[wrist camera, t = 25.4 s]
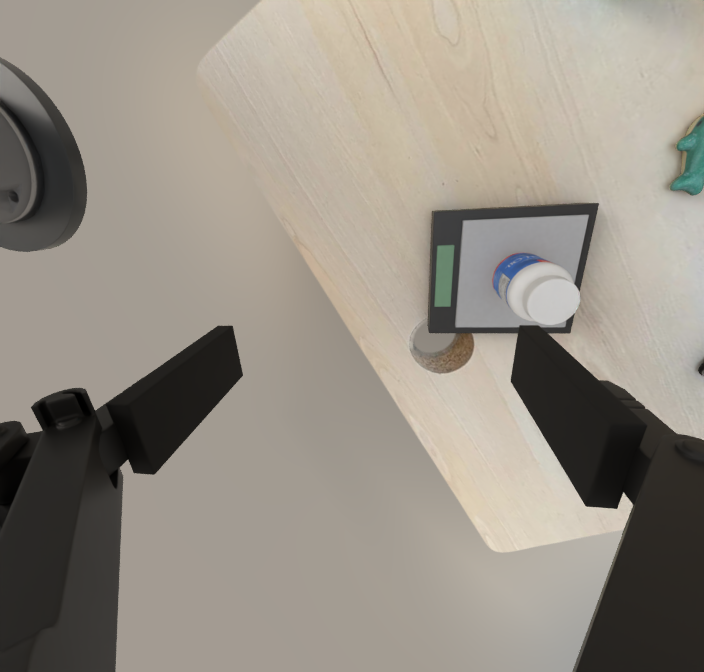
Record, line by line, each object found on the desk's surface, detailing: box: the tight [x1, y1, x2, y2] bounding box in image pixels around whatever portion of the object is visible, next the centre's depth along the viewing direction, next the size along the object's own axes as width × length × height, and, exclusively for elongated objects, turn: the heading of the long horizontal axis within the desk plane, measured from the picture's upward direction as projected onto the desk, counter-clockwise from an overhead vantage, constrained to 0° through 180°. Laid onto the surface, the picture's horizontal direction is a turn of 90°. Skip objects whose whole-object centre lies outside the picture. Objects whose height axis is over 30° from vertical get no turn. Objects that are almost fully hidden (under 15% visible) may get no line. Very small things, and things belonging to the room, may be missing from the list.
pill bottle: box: [492, 252, 580, 325], centre depth 31 cm, size 6×5×10 cm
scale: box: [428, 203, 599, 333], centre depth 37 cm, size 16×14×3 cm
